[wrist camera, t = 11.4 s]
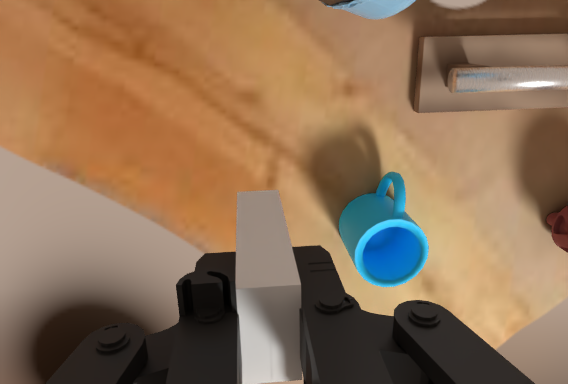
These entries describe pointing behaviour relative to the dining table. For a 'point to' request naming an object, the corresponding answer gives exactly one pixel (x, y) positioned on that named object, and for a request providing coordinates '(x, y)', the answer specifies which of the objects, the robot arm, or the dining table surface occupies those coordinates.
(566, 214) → the mechanical component
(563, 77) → the rod
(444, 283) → the dining table surface
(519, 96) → the stand
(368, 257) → the mug
